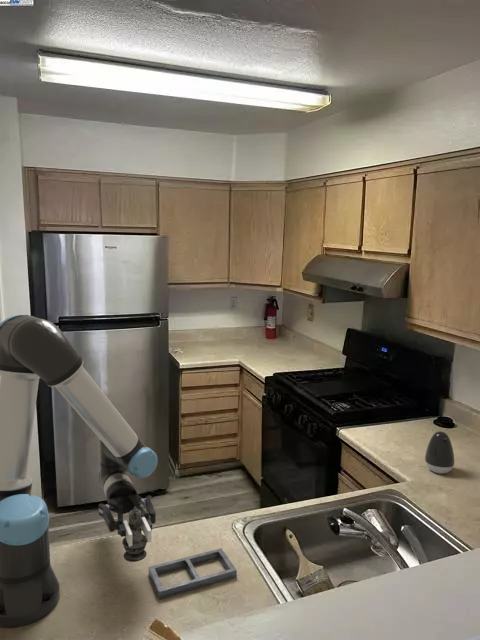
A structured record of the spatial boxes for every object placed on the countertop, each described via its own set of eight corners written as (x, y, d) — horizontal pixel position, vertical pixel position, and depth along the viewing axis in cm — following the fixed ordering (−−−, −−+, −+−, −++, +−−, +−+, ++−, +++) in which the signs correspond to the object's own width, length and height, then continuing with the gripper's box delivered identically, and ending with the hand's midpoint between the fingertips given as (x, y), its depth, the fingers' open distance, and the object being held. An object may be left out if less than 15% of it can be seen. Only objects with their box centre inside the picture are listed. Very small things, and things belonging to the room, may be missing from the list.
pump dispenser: (431, 477, 175) (433, 436, 173) (420, 465, 186) (422, 427, 184) (459, 476, 176) (461, 436, 174) (446, 464, 186) (448, 426, 184)
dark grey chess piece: (149, 547, 116) (149, 500, 114) (145, 562, 110) (145, 512, 109) (124, 547, 115) (124, 499, 114) (119, 562, 110) (119, 512, 108)
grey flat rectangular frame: (159, 600, 111) (159, 591, 111) (148, 574, 120) (148, 567, 120) (236, 577, 119) (236, 570, 119) (221, 555, 128) (221, 548, 128)
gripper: (151, 501, 132) (176, 546, 111) (88, 512, 125) (101, 563, 104) (151, 474, 131) (176, 515, 110) (87, 484, 124) (101, 530, 103)
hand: (140, 538), depth 107 cm, fingers closed on dark grey chess piece, 3 cm apart
